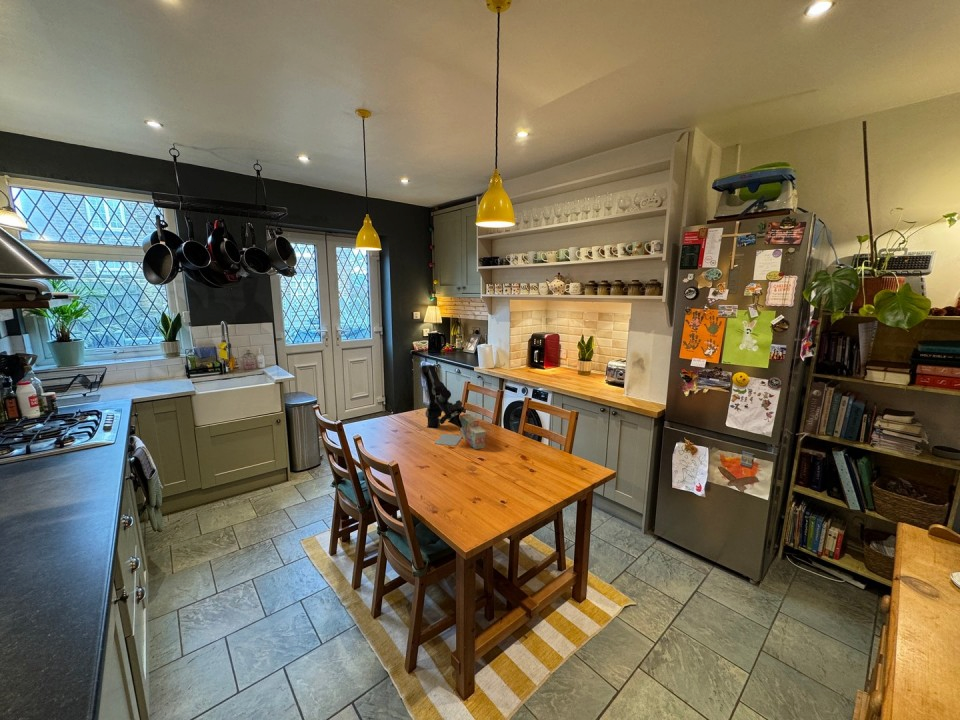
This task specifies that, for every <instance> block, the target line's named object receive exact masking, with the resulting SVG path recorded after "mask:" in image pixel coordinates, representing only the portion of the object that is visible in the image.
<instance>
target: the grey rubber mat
mask: <svg viewBox="0 0 960 720" xmlns="http://www.w3.org/2000/svg"><path fill="white" fill-rule="evenodd" d="M461 440H462V437H461V436H460V434H459V435H458V434H450V433H449V434H448V433H442V434H441V435H440V436H439V438H438V439H437V440H436V441H435V442H434V444H435V445H441V444H442V445H443V446H452V447H454V446H455V447H456V446H457V445H458V444H459V442H460V441H461Z"/></svg>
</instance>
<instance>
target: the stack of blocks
mask: <svg viewBox="0 0 960 720" xmlns="http://www.w3.org/2000/svg"><path fill="white" fill-rule="evenodd" d="M459 417H460V421H461V424H462V427H461V428H460V427H459V435H460V436H461V437H462V438H463V440H464V441H465V442H466V443H468V444H469V445H470V446H471V447H472V448H473V450H478V449H484V448H486V436H487V435H486V430H484V428H482V427H481V426H480V425H479V424H480V423H479V419H477V418H476V417H475V416H473V415H472V414H471V413H467V414H466V413H465V414H460V416H459ZM462 438H461V439H462Z"/></svg>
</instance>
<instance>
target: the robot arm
mask: <svg viewBox="0 0 960 720" xmlns="http://www.w3.org/2000/svg"><path fill="white" fill-rule="evenodd" d="M419 373H420V376H421V377H422V378H423V379H424V382H425V389H426V394H427V399H428V404H427V406H426V411H425V412H424V413H425V417H426V418H427V425H426V428H429V429H437V428H439V427H440V425H444V424H445V422H446V421H447V420H448V421H447V423H449V424H452V425H454V426H455V427H458V428H459V429H460V428H461V427H462V424H461V421H460V415H462V414H463V412H464V411H466V409H465V407H464V406H462V405H463V402H462V401H461V400H460V399H458V400H455V403H452V402H450V401H449V400H450V398H451V397H452V393H451V391H450V390H449V389H448V388H447V387H446V385H445V383H444V382H442V381H441V379H440V377H439V375H438V373H437V370H436V365H433V364H423V365H421V366H420V367H419ZM442 413H443V414H444V415H443V416H442Z"/></svg>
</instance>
